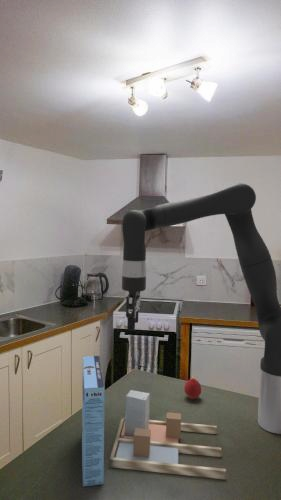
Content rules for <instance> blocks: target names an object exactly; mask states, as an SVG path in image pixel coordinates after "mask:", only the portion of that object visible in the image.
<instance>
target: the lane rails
mask: <svg viewBox="0 0 281 500" xmlns="http://www.w3.org/2000/svg"><path fill="white" fill-rule="evenodd" d="M124 422H125V417H123V416H122V417H121V420H120V422H119V426H118V430H117V434H116V436H115V440H114V443H113V447H112V450H111V454H110V457H109V468H114V469H122V470H123V469H124V470H125V469H126V470H133V471H144V472H153V473H162V474H172V475H178V476H179V475H182V476H187V477H189V476H190V477H199V478H206V479H207V478H208V479H218V480H226V479H227V470H226V468H218V467H210V466H200V465H189V464H183V463H182V464H180V463H178V464H173V463H163V462H153V461H144V460H134V459H124V458H116V454H117V451H118V447H119V443H131V444H134V439H126V438H121V433H122V430H123V426H124ZM149 424H156V425H166V420H154V419H149ZM217 431H218V426H217V425H211V424H199V423H189V422H187V423H186V422H181V432H189V433H191V432H192V433H198V434H199V433H201V434H212V435H217ZM178 443H179V442H178ZM178 443H167V442H157V441H150V445H151V446H161V447H171V448H178V454H185V455H187V454H188V455H195V456H196V455H198V456H206V457H207V456H208V457H218V458H222V448H221V447H220V446H219V447H218V446H205V445H196V444H186V443H179V444H178Z"/></svg>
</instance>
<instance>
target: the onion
mask: <svg viewBox="0 0 281 500" xmlns="http://www.w3.org/2000/svg"><path fill="white" fill-rule="evenodd" d="M183 389H184V392H185V394H186V395H187V396H188V397H189V399H190V400H195V399H197V398H199V396H200V395H201V393H202V386H201V384H200V382H199V381H198V380H197V379H196V378H195V377H194V376H190V379H188V380H187V381H186V382H185V384H184V388H183Z"/></svg>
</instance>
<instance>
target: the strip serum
mask: <svg viewBox="0 0 281 500" xmlns="http://www.w3.org/2000/svg"><path fill="white" fill-rule="evenodd" d="M165 421H166V425H156V424H149V429H151V434H150V441H157V442H167V443H178V444H180V443H179V440H180V439H181V432H182V431H181V423H182V414H181V412H180V413H178V412H166V419H165ZM125 430H126V429H125V422H124V426H123V430H122V433H121V438H126V439H134V437H129V436H125Z"/></svg>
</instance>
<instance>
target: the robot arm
mask: <svg viewBox="0 0 281 500" xmlns="http://www.w3.org/2000/svg"><path fill="white" fill-rule="evenodd" d="M256 199H257V195H256V192H255V189H254V188H253V187H252V186H250V185H248V184H247V183H242V182H241V183H240V182H238V183H233V184H231V185H230V186H228V187H226V188H222V189H220V190H217V191H215V192H212V193H210V194H205V195H202V196H201V195H200V196H197V197H192V198H191V197H190V198H187V199H181V200H176V201H171V202H166V203H161V204H158V205H156V206H154V207H151V208H145V209H141V210H140V209H139V210H137V209H130V210H129V211H127V212H125V214H124V215H123V218H122V222H121V223H122V226H121V227H122V238H123V239H122V240H123V252H122V254H123V255H122V259H123V260H122V267H121V268H122V269H121V289H122V290H123V291H124V292H128V295H127V296H126V298H125V300H126V301H125V302H126V303H125V304H126V305H125V308H126V309H125V318H127V321H126V322H127V330H128V331H135V329H136V324H138V323H139V311H140V307H141V298H142V297H141V292H144V291H146V290H147V263H146V259H147V254H146V253H147V247H146V246H147V245H146V243H145V237H146V232H148V231H152V230H154V229H159V228H166V227H171V226H172V227H173V226H176V225H181V224H184V223H185V224H186V223H189V222H191V221H194V220H199V219H202V218H207V217H210V216H211V217H212V216H218V215H224V216H225V218H226V220H227V223H228V226H229V228H230V230H231V233H232V237H233V242H234V246H235V250H236V256H237V258H238V262H239V265H240V269H241V272H242V275H243V279H244V282H245V284H246V287H247V289H248V293H249V294H250V297H251V299H252V302H253V305H254V308H255V313H256V318H257V324H258V329H259V333H260V336H261V338H262V339H263V341H264V350H263V351H264V353H263V357H261V359H260V367H259V386H258V406H257V407H258V410H257V424H258V426H260V428H262V429H263V430H264V431H267V432H269V433H272V434H276V435H281V305H280V303H279V298H278V293H277V289H278V288H277V284H278V283H277V275H276V269H275V265H274V263H273V259H272V255H271V254H270V250H269V249H268V248H269V247H268V246H267V245H266V243H265V241H264V239H263V238H262V236H261V235H260V233H259V231H258V229H257V226H256V224H255V220H254V217H253V216H254V215H253V211H252V209H253V207H254V206H255V204H256Z"/></svg>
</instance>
